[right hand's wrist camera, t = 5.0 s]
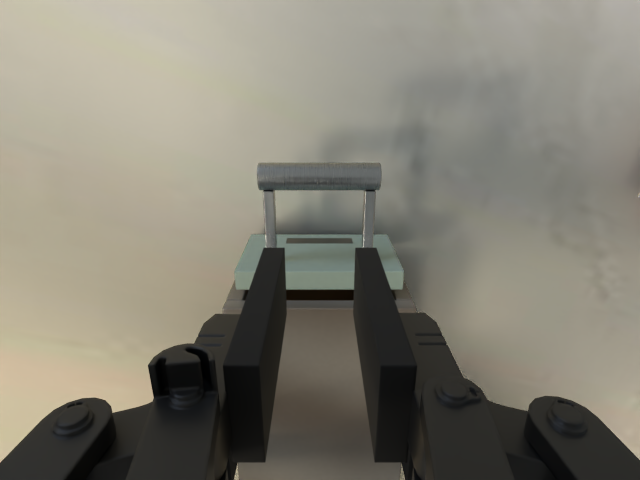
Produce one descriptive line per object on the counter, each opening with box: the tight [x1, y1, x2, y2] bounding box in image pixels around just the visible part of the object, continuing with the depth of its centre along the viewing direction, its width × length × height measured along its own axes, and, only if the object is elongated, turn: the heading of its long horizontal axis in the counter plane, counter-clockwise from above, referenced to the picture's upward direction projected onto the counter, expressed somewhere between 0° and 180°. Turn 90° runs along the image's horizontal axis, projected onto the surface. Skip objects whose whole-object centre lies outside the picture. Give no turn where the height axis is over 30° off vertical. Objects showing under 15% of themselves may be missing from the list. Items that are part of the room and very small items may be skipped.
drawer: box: [234, 163, 404, 300], centre depth 27 cm, size 19×10×6 cm, turn 0°
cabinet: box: [223, 281, 416, 480], centre depth 29 cm, size 14×11×8 cm
